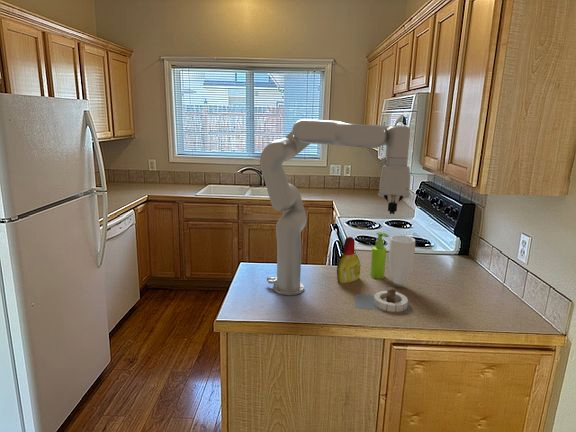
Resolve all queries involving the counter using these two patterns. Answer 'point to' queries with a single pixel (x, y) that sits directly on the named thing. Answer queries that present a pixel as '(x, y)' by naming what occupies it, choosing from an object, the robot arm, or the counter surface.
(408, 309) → the board
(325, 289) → the counter surface
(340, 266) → the bottle
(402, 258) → the cup
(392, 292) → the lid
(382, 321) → the counter surface
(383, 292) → the ring
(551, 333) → the counter surface
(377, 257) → the soap dispenser
